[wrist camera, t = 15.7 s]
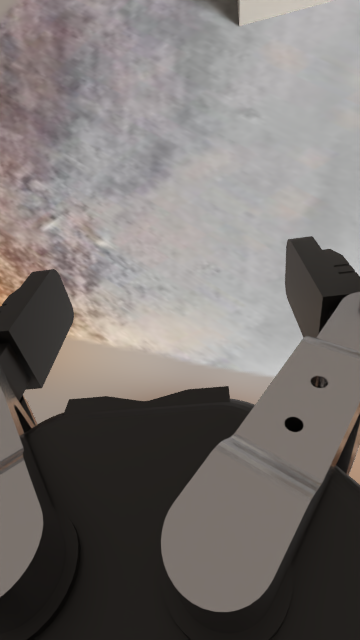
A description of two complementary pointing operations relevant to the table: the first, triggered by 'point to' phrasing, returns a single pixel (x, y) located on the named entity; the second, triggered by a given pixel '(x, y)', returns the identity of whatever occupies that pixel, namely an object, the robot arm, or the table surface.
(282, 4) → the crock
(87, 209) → the table surface
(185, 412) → the robot arm
